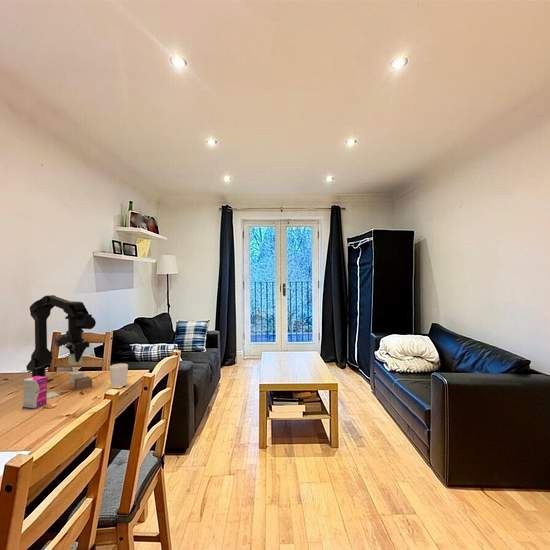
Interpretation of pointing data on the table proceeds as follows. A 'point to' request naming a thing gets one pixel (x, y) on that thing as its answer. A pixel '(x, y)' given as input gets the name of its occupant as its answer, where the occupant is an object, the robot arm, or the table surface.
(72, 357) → the sage block
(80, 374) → the grey block
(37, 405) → the supplement box
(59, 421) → the table surface
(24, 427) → the table surface
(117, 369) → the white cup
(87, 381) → the walnut base
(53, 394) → the tile
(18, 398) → the table surface
